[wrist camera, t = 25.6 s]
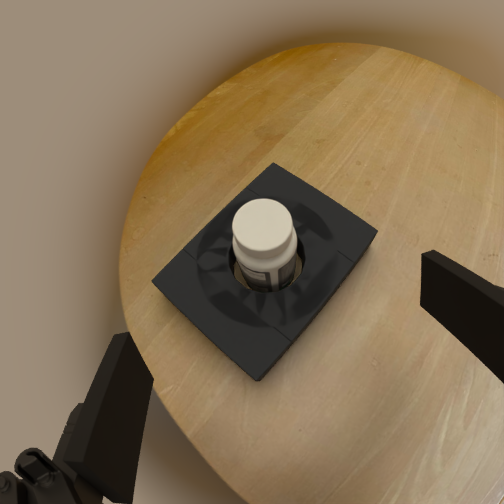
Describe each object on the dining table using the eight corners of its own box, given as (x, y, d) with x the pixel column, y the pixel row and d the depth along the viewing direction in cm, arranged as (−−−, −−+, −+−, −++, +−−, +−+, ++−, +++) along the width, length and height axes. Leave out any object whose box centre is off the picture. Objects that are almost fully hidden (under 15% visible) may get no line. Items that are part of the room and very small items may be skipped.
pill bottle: (288, 241, 28) (290, 188, 21) (299, 289, 26) (307, 248, 19) (238, 251, 28) (223, 200, 21) (246, 299, 26) (231, 262, 19)
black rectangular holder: (259, 381, 23) (256, 381, 21) (163, 291, 27) (150, 280, 25) (369, 245, 27) (378, 230, 25) (274, 180, 31) (273, 162, 29)
